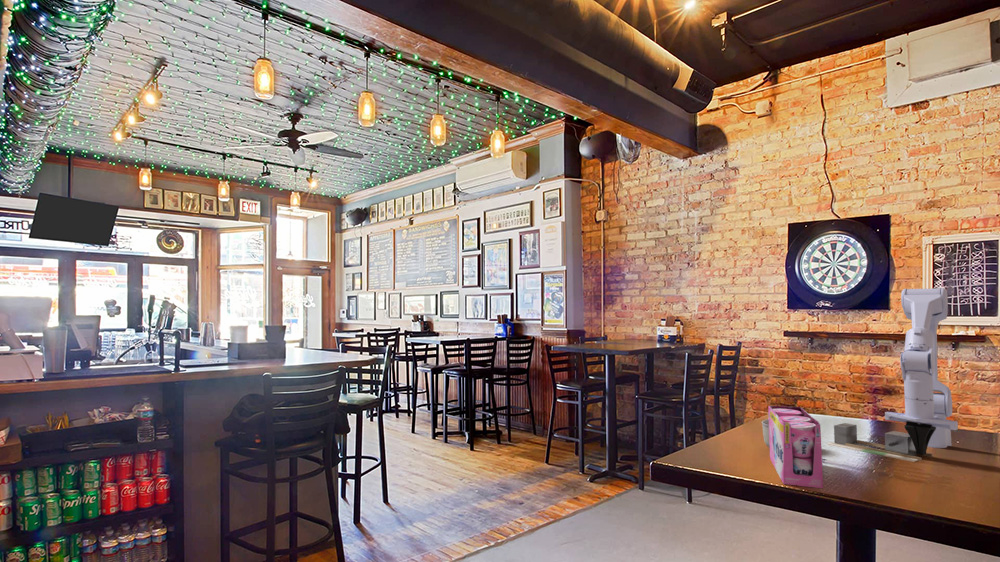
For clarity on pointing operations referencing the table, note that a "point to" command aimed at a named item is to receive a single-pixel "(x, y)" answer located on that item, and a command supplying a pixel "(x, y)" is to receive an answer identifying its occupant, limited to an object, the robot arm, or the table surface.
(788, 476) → the gum box
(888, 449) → the gauge carriage
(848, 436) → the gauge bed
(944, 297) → the robot arm
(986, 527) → the table surface
